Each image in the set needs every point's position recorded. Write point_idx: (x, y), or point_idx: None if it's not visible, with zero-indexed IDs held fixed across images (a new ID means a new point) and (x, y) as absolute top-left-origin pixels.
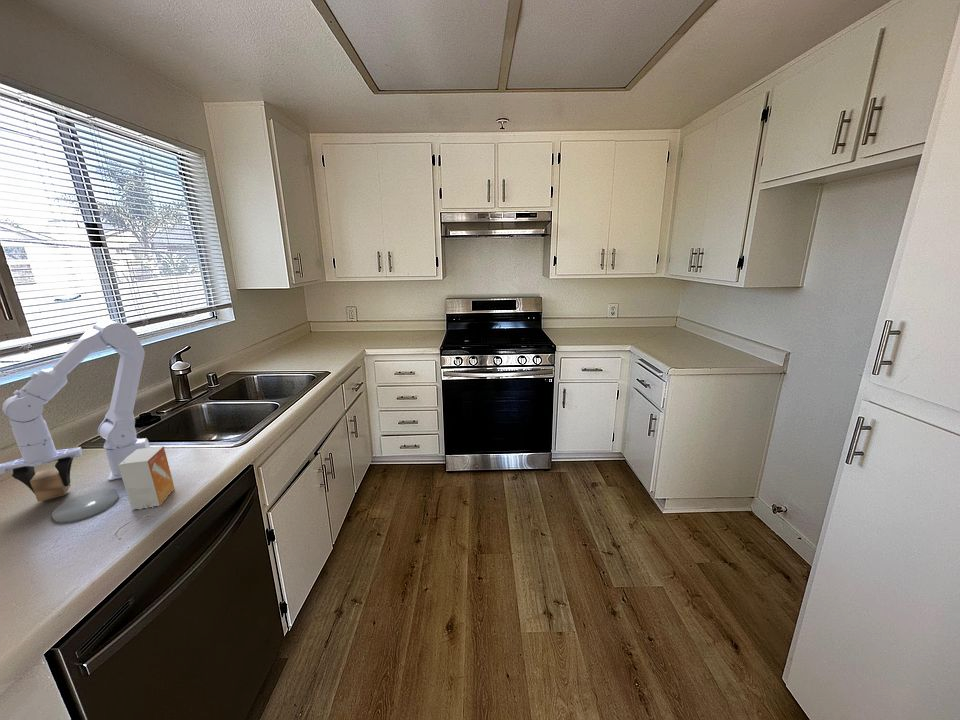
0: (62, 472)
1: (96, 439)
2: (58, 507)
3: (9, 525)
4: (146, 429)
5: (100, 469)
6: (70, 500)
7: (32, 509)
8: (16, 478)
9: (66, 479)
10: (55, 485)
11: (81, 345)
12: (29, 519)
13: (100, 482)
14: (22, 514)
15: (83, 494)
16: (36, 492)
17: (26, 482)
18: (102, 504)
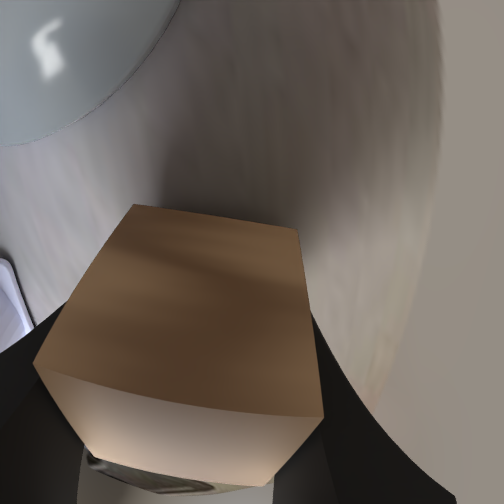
0: (13, 372)
1: (185, 488)
2: (152, 9)
3: (438, 58)
4: (91, 465)
5: None
6: (89, 84)
7: (330, 192)
8: (431, 482)
9: (59, 307)
10: (129, 273)
11: None
12: (343, 33)
13: (42, 276)
14: (379, 163)
15: (36, 134)
16: (291, 283)
17: (350, 414)
18: None
